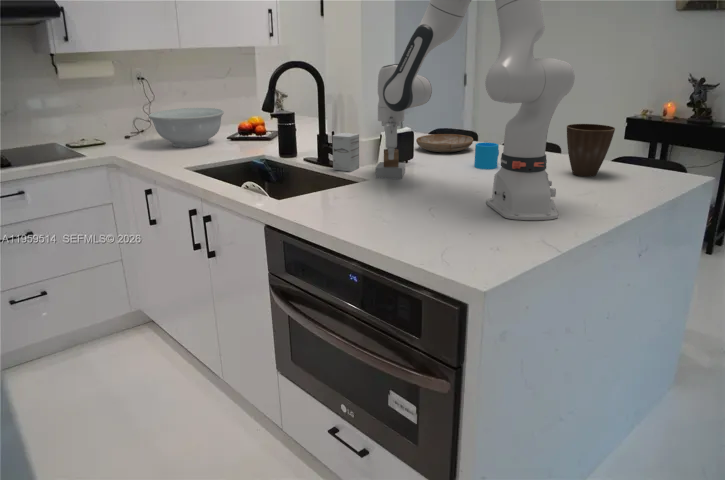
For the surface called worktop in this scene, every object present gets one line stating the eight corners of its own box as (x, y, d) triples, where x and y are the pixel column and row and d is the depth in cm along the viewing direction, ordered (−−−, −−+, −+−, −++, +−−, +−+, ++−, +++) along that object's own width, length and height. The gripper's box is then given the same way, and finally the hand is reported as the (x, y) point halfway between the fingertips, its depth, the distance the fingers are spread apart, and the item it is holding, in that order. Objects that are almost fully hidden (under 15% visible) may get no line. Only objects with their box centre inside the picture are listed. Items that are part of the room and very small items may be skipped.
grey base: (401, 180, 184) (402, 168, 183) (375, 179, 186) (375, 167, 185) (405, 173, 193) (405, 162, 191) (380, 173, 194) (379, 162, 193)
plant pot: (587, 167, 195) (593, 122, 190) (618, 177, 182) (625, 128, 177) (552, 171, 191) (557, 125, 185) (581, 181, 178) (587, 131, 172)
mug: (489, 170, 194) (490, 147, 191) (469, 167, 200) (471, 144, 197) (506, 164, 202) (508, 142, 199) (487, 161, 208) (489, 140, 205)
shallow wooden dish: (422, 144, 244) (422, 132, 243) (475, 146, 237) (476, 134, 236) (410, 154, 224) (410, 142, 222) (468, 157, 217) (469, 144, 215)
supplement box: (332, 170, 198) (331, 135, 193) (342, 166, 204) (341, 132, 200) (350, 172, 195) (349, 136, 190) (360, 168, 201) (359, 133, 196)
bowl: (172, 154, 230) (167, 119, 224) (141, 144, 252) (136, 112, 247) (239, 144, 250) (236, 111, 245) (205, 136, 272) (202, 106, 267)
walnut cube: (398, 166, 185) (398, 152, 184) (383, 166, 186) (383, 152, 184) (398, 163, 190) (398, 149, 188) (383, 163, 190) (383, 149, 189)
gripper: (401, 119, 172) (401, 162, 177) (399, 111, 191) (399, 150, 196) (381, 119, 172) (381, 162, 177) (381, 111, 192) (381, 150, 196)
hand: (390, 156), depth 187 cm, fingers open, 8 cm apart
